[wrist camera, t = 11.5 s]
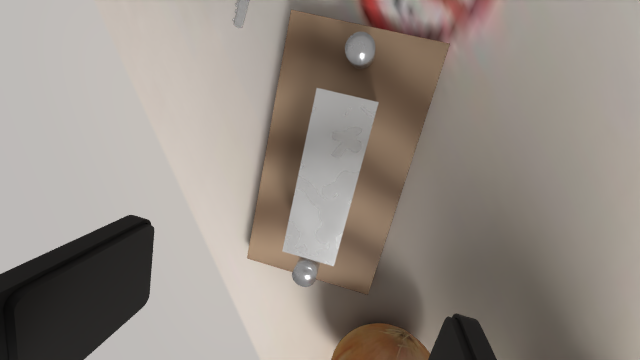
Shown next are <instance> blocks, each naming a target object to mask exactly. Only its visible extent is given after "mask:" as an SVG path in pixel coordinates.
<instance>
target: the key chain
mask: <svg viewBox="0 0 640 360" xmlns="http://www.w3.org/2000/svg"><path fill="white" fill-rule="evenodd" d="M248 3H249V0H240V1H237V3H236V4H235V6H236V7H238V9H237V10H236V9H235V13H236V17H235V18H233V21H234V25H235V26H236V27H237V28H242V27H243V23H244V19H245V15H246V11H247V7H248Z"/></svg>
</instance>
